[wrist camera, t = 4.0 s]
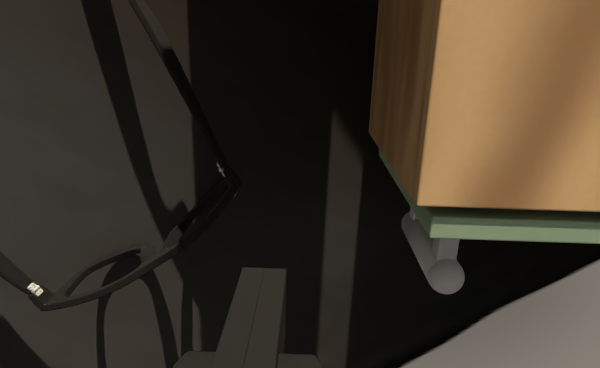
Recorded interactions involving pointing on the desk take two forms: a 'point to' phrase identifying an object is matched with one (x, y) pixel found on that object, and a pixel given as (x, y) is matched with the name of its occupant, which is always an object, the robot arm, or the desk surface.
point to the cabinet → (490, 102)
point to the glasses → (171, 246)
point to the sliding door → (482, 232)
